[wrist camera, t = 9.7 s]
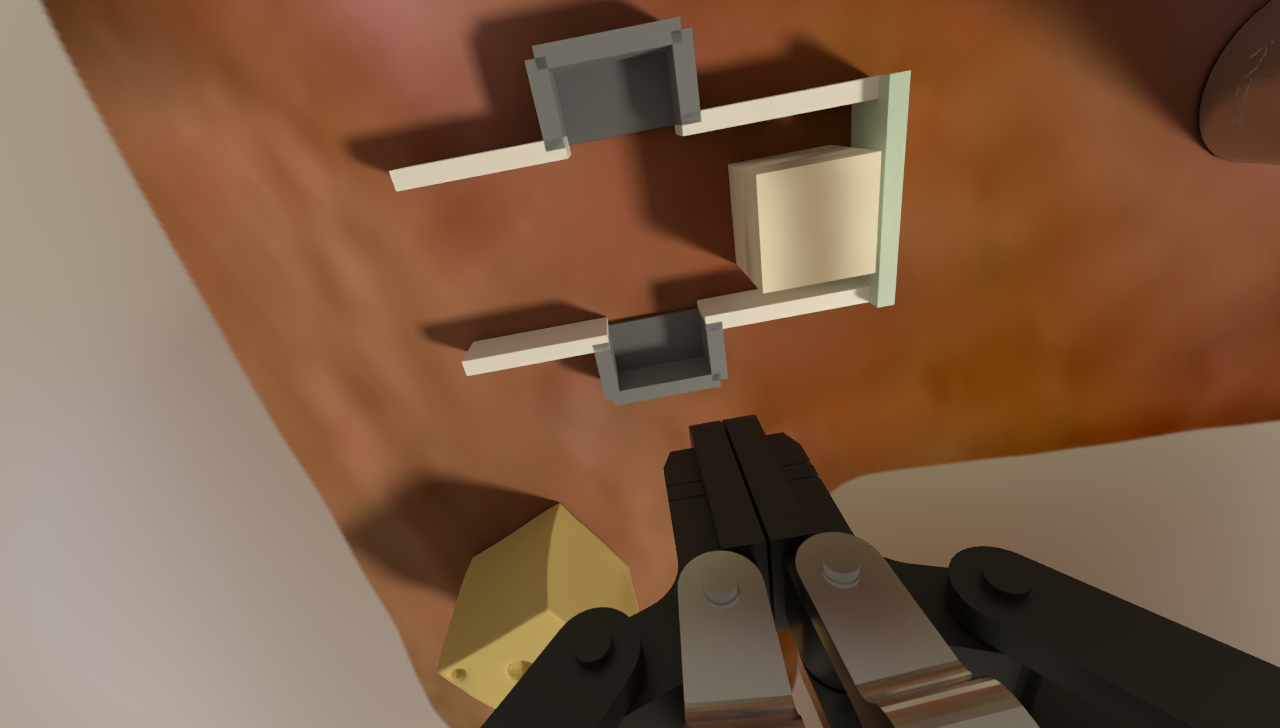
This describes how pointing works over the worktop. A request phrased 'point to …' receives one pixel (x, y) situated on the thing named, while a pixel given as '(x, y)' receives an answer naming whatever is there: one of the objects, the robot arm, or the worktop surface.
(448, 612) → the worktop surface
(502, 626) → the cheese
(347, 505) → the worktop surface
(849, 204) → the birch block
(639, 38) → the trap box
